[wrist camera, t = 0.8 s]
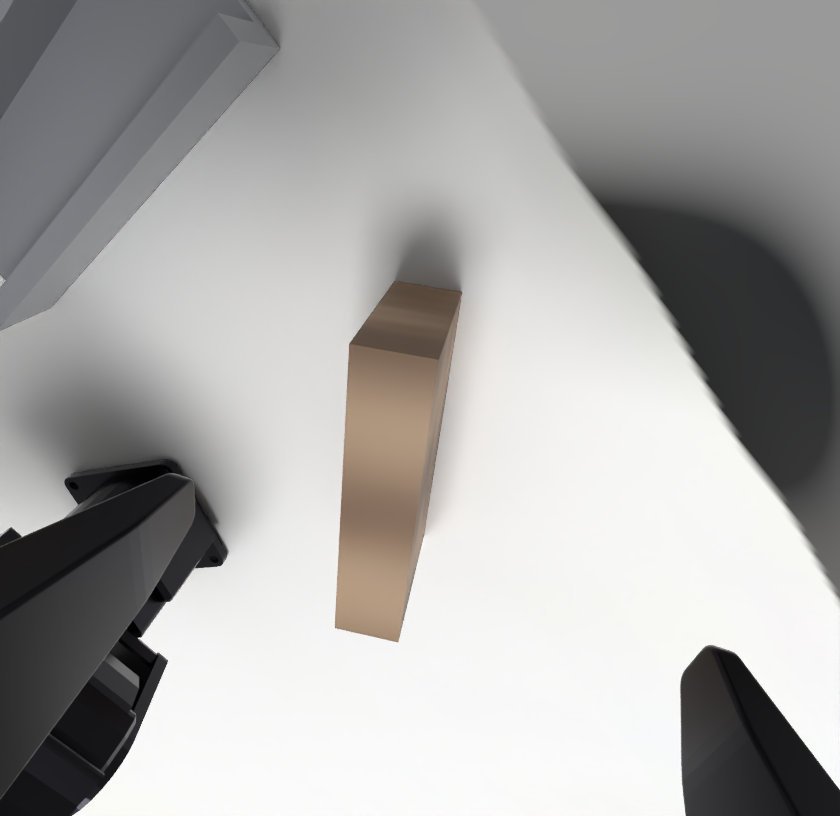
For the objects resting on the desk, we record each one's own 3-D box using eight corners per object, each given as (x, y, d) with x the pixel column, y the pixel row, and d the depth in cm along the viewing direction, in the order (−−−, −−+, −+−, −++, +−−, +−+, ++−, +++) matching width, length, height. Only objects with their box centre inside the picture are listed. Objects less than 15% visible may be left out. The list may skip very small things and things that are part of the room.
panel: (424, 534, 26) (398, 642, 21) (372, 523, 26) (334, 627, 21) (462, 291, 20) (438, 359, 15) (395, 280, 20) (349, 343, 15)
